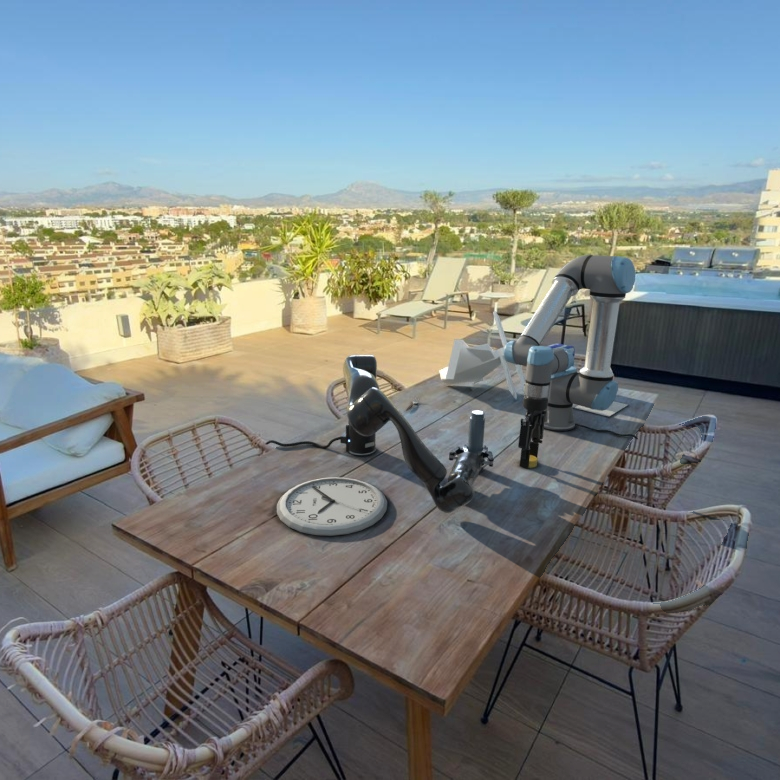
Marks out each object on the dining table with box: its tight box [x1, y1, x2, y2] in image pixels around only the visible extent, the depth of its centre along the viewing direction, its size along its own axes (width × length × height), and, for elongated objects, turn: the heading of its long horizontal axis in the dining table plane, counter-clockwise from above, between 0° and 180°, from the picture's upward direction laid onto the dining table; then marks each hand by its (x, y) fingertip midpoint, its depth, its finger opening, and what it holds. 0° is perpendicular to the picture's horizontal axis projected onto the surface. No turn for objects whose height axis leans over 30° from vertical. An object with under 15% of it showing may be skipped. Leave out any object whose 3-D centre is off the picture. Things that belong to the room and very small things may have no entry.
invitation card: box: [573, 400, 629, 418], centre depth 226 cm, size 21×1×15 cm
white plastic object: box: [438, 310, 526, 400], centre depth 245 cm, size 37×45×31 cm
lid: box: [528, 455, 538, 469], centre depth 170 cm, size 5×5×2 cm
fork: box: [405, 396, 421, 411], centre depth 222 cm, size 3×16×2 cm, turn 160°
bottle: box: [467, 409, 486, 472], centre depth 163 cm, size 5×5×19 cm
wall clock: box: [276, 476, 388, 537], centre depth 142 cm, size 30×2×30 cm
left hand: (476, 447), depth 166 cm, fingers closed on bottle, 4 cm apart
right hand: (528, 463), depth 170 cm, fingers open, 5 cm apart
